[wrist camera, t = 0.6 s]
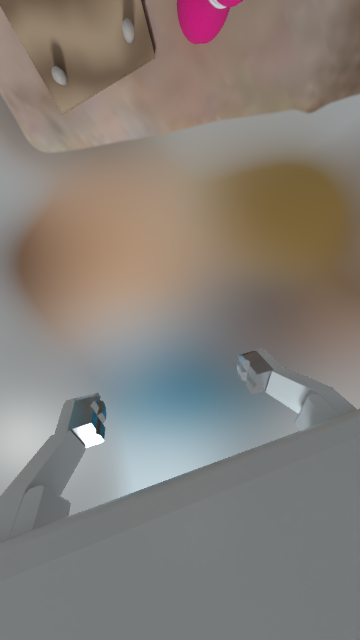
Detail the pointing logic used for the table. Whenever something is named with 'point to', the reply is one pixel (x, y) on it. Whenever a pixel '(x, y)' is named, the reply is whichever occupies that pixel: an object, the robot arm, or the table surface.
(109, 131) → the table surface
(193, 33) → the pepper mill
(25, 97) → the table surface
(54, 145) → the table surface
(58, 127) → the table surface
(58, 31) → the pin base
